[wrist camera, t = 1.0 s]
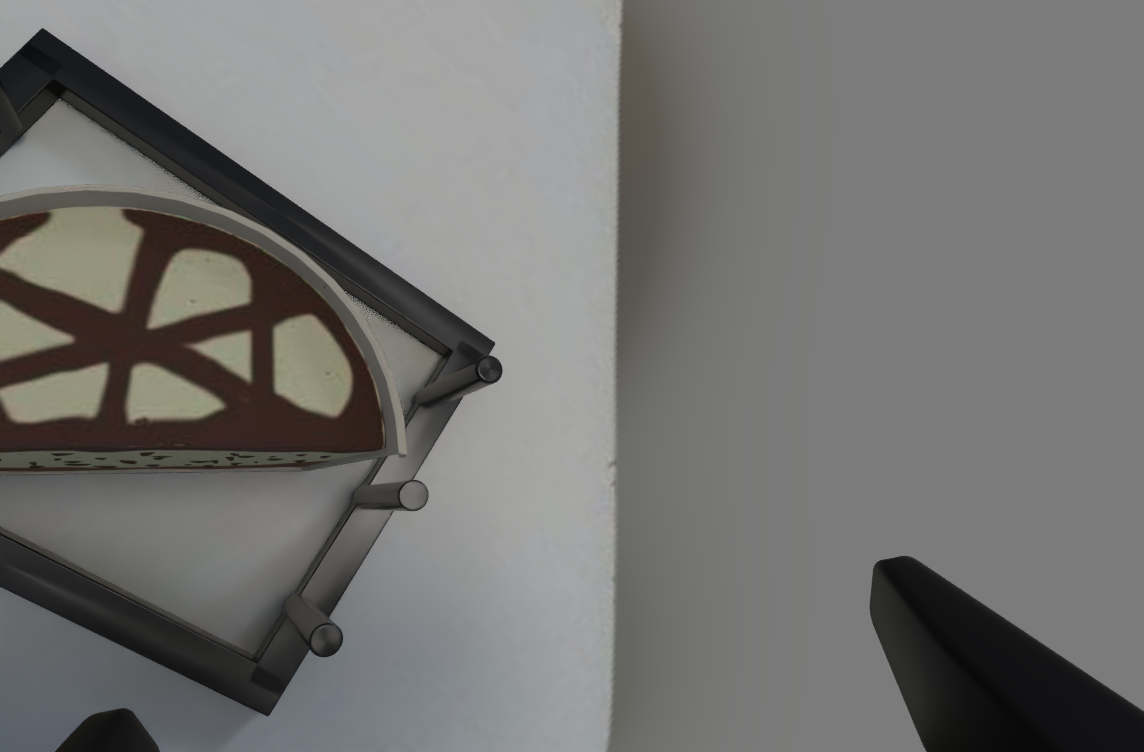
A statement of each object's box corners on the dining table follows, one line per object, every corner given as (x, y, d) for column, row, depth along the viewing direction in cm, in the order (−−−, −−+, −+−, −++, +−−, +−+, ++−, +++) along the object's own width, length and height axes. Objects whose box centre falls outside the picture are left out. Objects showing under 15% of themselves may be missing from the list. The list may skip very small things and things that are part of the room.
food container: (355, 298, 28) (425, 200, 19) (353, 470, 27) (425, 453, 18) (-76, 265, 23) (-259, 109, 14) (-97, 476, 22) (-306, 457, 13)
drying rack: (265, 708, 25) (288, 786, 18) (-330, 417, 20) (-610, 372, 13) (485, 348, 30) (569, 302, 23) (49, 47, 25) (-12, -127, 18)
